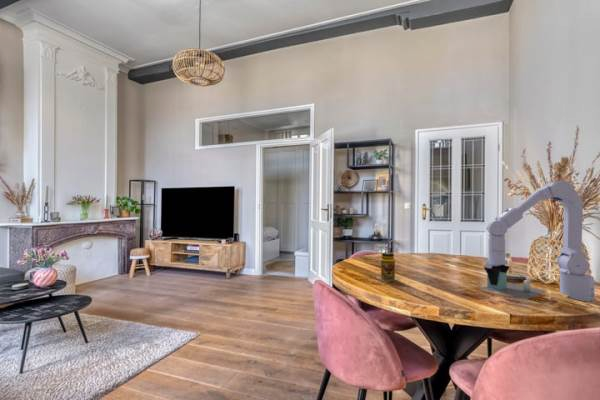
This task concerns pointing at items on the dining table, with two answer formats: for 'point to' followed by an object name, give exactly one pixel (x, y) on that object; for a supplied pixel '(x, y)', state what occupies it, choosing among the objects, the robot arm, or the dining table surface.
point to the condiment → (387, 267)
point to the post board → (518, 290)
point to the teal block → (499, 281)
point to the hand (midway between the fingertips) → (496, 283)
